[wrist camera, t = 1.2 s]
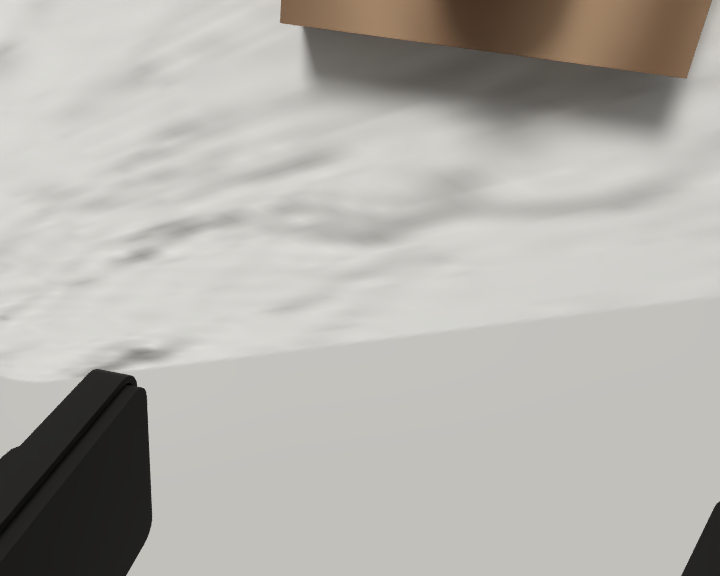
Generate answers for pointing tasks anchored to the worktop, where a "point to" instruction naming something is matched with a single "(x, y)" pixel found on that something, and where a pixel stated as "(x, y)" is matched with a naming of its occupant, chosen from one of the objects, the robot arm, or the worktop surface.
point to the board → (528, 27)
